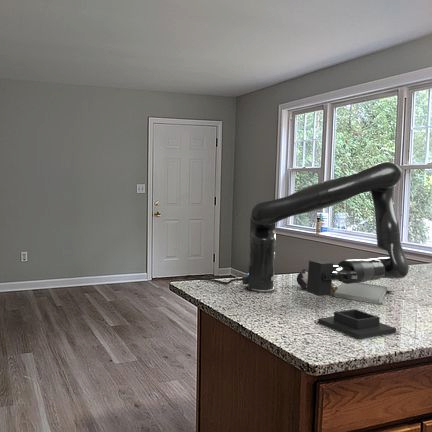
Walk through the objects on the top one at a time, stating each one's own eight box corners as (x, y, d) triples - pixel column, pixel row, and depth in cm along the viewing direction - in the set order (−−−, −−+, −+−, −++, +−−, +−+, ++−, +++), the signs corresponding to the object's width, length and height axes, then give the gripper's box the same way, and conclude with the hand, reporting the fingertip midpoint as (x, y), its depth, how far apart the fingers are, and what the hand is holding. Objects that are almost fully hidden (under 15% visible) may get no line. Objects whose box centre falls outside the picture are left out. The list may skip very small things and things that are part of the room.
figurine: (329, 293, 154) (291, 277, 164) (329, 306, 157) (291, 289, 167) (342, 277, 159) (304, 262, 169) (341, 290, 162) (304, 275, 172)
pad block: (318, 296, 133) (321, 263, 132) (306, 291, 137) (309, 260, 136) (330, 294, 135) (333, 263, 134) (318, 290, 139) (321, 259, 138)
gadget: (379, 304, 146) (380, 293, 146) (332, 296, 155) (333, 286, 155) (392, 291, 163) (393, 281, 163) (349, 284, 173) (350, 275, 173)
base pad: (358, 339, 113) (359, 325, 113) (317, 322, 126) (318, 310, 126) (395, 332, 119) (396, 319, 118) (353, 317, 132) (353, 305, 131)
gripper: (338, 255, 147) (299, 258, 141) (375, 264, 134) (334, 267, 128) (337, 277, 148) (298, 281, 141) (374, 287, 135) (333, 292, 128)
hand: (315, 274), depth 134 cm, fingers closed on pad block, 5 cm apart
